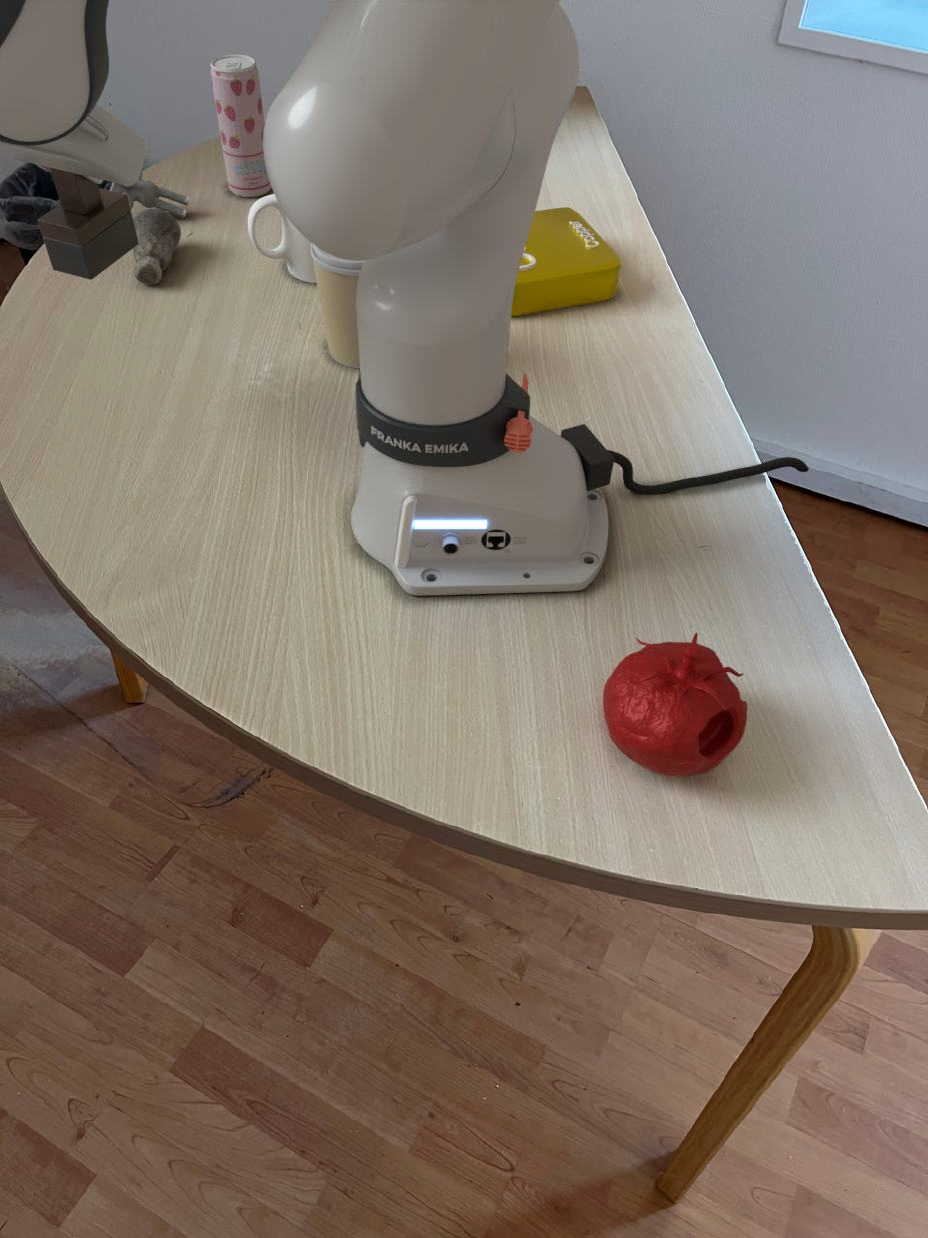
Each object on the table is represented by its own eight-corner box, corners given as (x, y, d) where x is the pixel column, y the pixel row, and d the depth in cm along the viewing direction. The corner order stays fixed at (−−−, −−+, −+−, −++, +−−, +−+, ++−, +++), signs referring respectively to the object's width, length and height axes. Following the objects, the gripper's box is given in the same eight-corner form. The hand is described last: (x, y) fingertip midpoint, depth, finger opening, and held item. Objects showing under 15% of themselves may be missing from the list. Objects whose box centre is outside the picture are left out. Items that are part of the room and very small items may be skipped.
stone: (162, 298, 105) (201, 238, 104) (119, 268, 102) (158, 205, 101) (147, 280, 113) (182, 223, 111) (106, 251, 109) (142, 193, 108)
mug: (268, 296, 105) (255, 205, 97) (246, 263, 109) (231, 173, 101) (366, 274, 108) (361, 184, 100) (341, 243, 113) (334, 155, 105)
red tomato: (579, 767, 65) (597, 688, 58) (615, 663, 71) (636, 581, 64) (719, 814, 63) (755, 738, 56) (743, 703, 69) (779, 622, 62)
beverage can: (238, 201, 119) (218, 73, 108) (222, 183, 122) (201, 57, 111) (279, 192, 121) (264, 66, 110) (263, 175, 124) (246, 50, 113)
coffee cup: (427, 348, 99) (426, 239, 90) (362, 384, 94) (355, 274, 85) (367, 314, 103) (361, 207, 94) (302, 347, 98) (289, 238, 89)
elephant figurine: (176, 239, 113) (99, 211, 110) (177, 254, 118) (104, 228, 116) (198, 160, 113) (122, 130, 110) (198, 180, 119) (125, 152, 116)
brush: (102, 234, 85) (58, 72, 74) (139, 244, 84) (100, 81, 74) (52, 269, 80) (-1, 102, 70) (91, 280, 79) (42, 112, 69)
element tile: (622, 299, 106) (629, 259, 103) (500, 320, 103) (503, 280, 99) (568, 238, 116) (573, 200, 112) (455, 255, 112) (456, 216, 108)
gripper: (86, 58, 61) (195, 154, 74) (-157, 9, 65) (-12, 108, 79) (63, 154, 61) (175, 232, 75) (-176, 99, 66) (-30, 182, 79)
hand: (77, 168), depth 77 cm, fingers closed on brush, 2 cm apart
